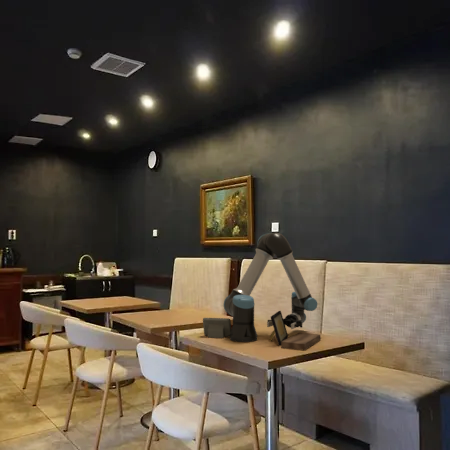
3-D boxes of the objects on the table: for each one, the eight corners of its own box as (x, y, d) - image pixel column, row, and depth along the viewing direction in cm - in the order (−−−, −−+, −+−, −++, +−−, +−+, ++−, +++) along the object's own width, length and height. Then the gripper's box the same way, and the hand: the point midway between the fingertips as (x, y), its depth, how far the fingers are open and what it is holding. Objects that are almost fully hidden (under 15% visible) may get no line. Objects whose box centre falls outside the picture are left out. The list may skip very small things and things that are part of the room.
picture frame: (281, 345, 221) (277, 315, 223) (264, 346, 224) (260, 317, 225) (288, 337, 243) (285, 310, 245) (272, 338, 246) (269, 311, 247)
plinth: (281, 347, 217) (281, 341, 217) (299, 338, 241) (299, 332, 242) (304, 350, 211) (304, 344, 211) (320, 340, 236) (320, 334, 236)
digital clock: (233, 336, 246) (233, 317, 247) (226, 339, 238) (226, 319, 239) (207, 334, 253) (207, 315, 253) (200, 337, 244) (200, 317, 245)
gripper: (313, 328, 248) (302, 334, 229) (272, 325, 259) (258, 330, 241) (313, 315, 248) (301, 320, 229) (272, 312, 260) (258, 316, 241)
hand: (279, 325), depth 235 cm, fingers open, 13 cm apart
